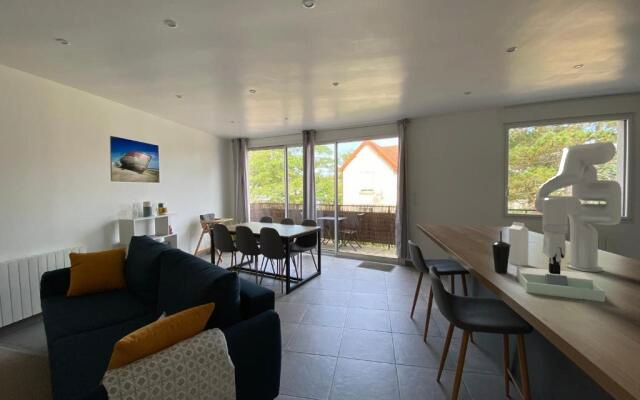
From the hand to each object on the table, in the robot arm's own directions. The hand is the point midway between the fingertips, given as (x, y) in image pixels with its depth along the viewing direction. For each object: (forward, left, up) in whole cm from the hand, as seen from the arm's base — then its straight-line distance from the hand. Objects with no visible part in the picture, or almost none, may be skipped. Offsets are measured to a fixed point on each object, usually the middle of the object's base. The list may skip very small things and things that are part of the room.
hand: (554, 273), depth 106 cm
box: (+5, 0, -6) cm, 8 cm away
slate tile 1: (+2, 0, -2) cm, 3 cm away
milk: (-33, -6, -6) cm, 34 cm away
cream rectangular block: (-4, 0, -6) cm, 7 cm away
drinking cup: (-15, -16, -6) cm, 23 cm away
